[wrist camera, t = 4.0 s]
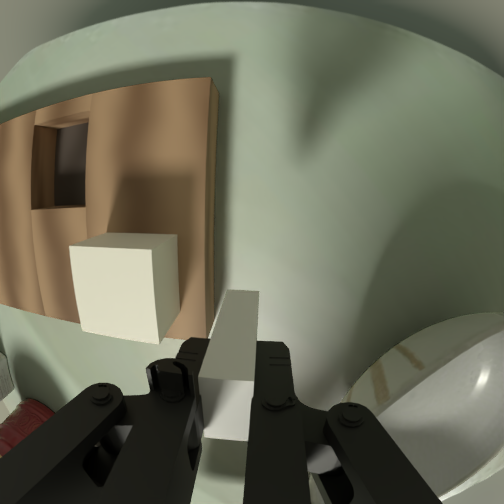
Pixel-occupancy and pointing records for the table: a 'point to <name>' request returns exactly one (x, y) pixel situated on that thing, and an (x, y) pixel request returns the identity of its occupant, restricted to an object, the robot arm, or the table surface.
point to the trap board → (110, 191)
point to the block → (127, 285)
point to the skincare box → (4, 378)
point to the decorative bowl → (440, 398)
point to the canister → (22, 423)
